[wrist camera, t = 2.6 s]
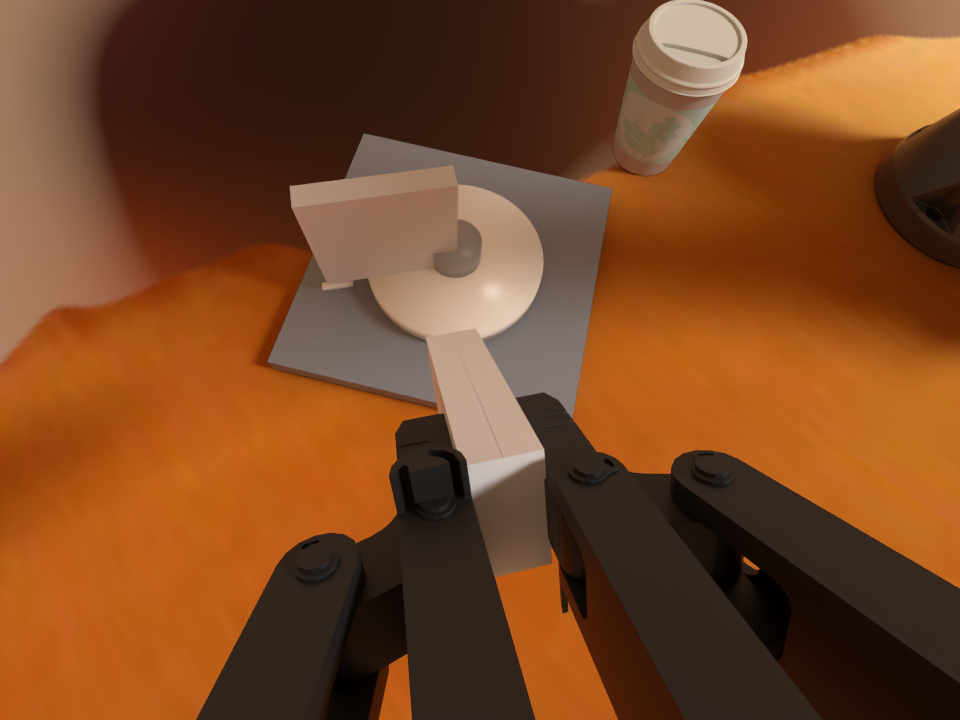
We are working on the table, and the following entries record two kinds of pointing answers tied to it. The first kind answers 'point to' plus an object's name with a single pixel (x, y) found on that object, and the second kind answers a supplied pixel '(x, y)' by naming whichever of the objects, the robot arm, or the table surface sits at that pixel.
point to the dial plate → (517, 352)
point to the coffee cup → (675, 81)
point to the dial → (425, 248)
